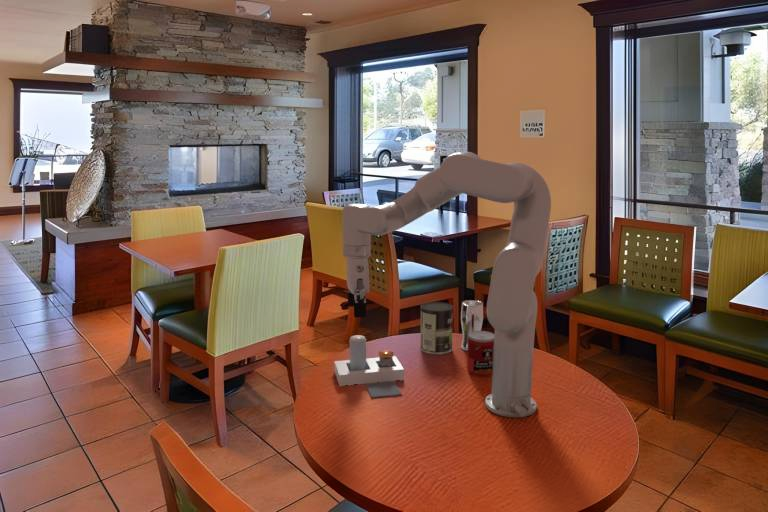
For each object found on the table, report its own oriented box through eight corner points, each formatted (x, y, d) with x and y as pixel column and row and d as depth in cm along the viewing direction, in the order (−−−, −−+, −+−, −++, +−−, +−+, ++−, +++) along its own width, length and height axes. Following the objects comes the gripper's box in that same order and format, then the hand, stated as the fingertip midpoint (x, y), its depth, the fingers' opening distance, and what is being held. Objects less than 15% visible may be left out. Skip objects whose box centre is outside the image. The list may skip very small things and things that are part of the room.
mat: (401, 395, 147) (401, 393, 147) (371, 398, 146) (371, 396, 146) (394, 382, 155) (394, 381, 155) (365, 385, 153) (365, 384, 153)
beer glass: (455, 346, 182) (457, 301, 179) (473, 343, 185) (475, 298, 182) (467, 353, 176) (469, 307, 173) (486, 350, 179) (488, 304, 176)
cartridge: (367, 379, 157) (367, 339, 155) (351, 380, 156) (351, 341, 154) (364, 372, 161) (364, 334, 159) (348, 374, 160) (348, 335, 158)
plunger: (394, 374, 159) (395, 354, 158) (380, 376, 158) (380, 355, 157) (391, 369, 163) (391, 349, 162) (377, 370, 162) (377, 350, 161)
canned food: (474, 378, 158) (475, 341, 155) (462, 367, 165) (463, 331, 163) (499, 375, 160) (500, 338, 158) (486, 364, 167) (488, 329, 165)
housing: (404, 380, 157) (404, 369, 156) (339, 386, 153) (339, 375, 152) (395, 366, 166) (395, 356, 166) (334, 371, 162) (334, 361, 162)
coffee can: (453, 344, 184) (454, 302, 181) (450, 355, 174) (451, 312, 171) (422, 342, 186) (422, 300, 183) (417, 353, 176) (418, 310, 173)
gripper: (377, 256, 144) (376, 320, 148) (364, 243, 161) (364, 301, 164) (348, 257, 142) (348, 322, 146) (338, 244, 159) (338, 303, 162)
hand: (356, 311), depth 155 cm, fingers open, 9 cm apart
